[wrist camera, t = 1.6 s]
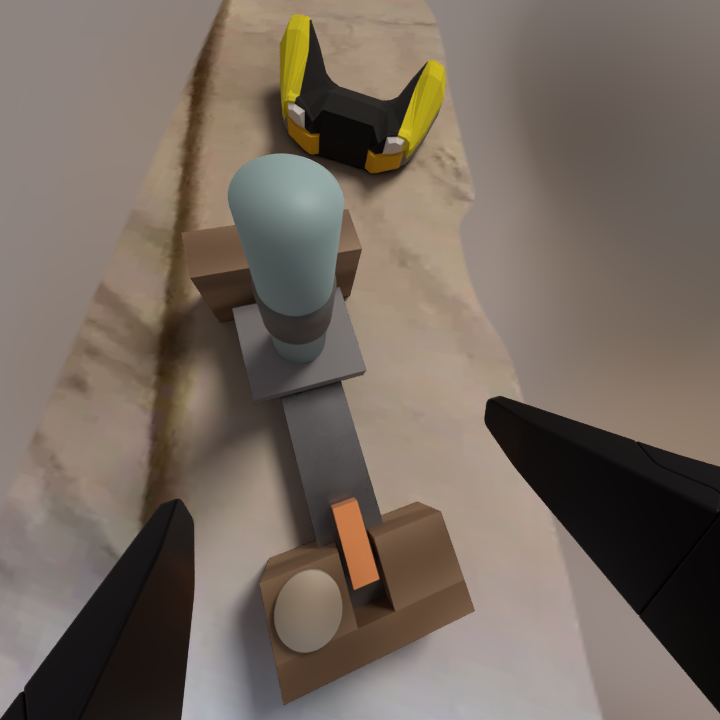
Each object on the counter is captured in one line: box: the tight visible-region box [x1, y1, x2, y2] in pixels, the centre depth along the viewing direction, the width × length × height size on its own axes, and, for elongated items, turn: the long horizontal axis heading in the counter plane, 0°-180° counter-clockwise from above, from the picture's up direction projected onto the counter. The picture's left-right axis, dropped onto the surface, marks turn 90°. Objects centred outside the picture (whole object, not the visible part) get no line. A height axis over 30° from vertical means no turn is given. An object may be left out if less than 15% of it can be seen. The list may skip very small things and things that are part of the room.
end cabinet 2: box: [260, 502, 475, 705], centre depth 17 cm, size 5×10×4 cm, turn 107°
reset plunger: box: [331, 497, 379, 590], centre depth 17 cm, size 4×1×1 cm, turn 17°
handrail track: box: [281, 381, 386, 609], centre depth 21 cm, size 22×4×2 cm, turn 17°
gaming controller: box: [280, 15, 446, 173], centre depth 28 cm, size 15×6×10 cm
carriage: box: [228, 154, 366, 403], centre depth 15 cm, size 6×7×13 cm
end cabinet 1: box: [182, 209, 362, 322], centre depth 21 cm, size 3×10×6 cm, turn 107°
